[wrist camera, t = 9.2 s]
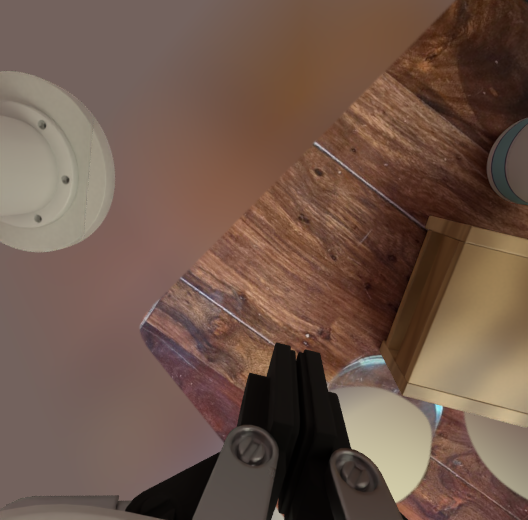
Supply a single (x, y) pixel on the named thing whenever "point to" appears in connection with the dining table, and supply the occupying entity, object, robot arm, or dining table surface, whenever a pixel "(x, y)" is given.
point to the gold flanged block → (465, 323)
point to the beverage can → (510, 164)
